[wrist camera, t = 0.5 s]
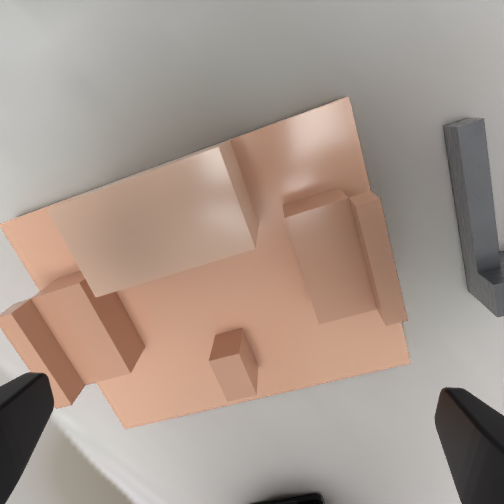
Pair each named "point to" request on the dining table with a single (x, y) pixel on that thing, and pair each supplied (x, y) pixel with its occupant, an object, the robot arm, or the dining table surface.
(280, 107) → the dining table surface
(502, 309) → the glasses frame
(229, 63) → the dining table surface
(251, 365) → the display stand
